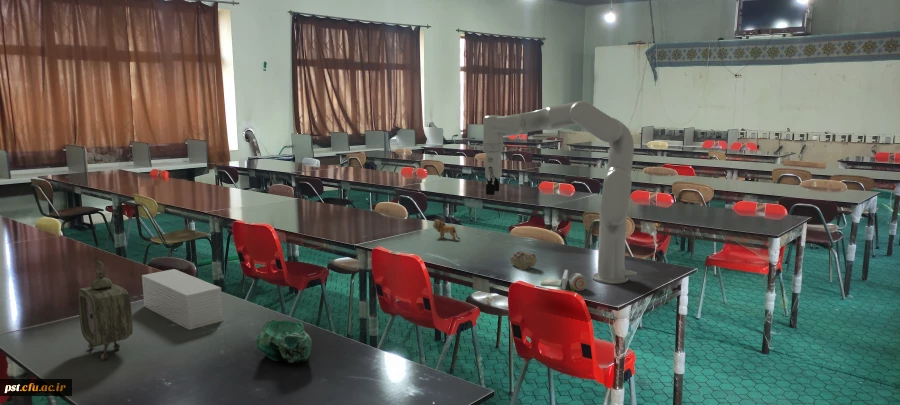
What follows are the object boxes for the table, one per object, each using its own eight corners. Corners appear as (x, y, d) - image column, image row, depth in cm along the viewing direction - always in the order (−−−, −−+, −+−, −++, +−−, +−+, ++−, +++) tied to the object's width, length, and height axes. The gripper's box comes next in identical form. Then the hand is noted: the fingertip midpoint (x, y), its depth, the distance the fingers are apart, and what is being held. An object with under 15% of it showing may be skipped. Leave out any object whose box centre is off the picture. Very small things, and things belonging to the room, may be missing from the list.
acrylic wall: (567, 280, 240) (568, 270, 239) (565, 289, 228) (565, 278, 228) (564, 280, 240) (564, 269, 240) (561, 289, 229) (562, 278, 228)
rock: (536, 257, 250) (538, 248, 260) (507, 256, 253) (510, 246, 262) (536, 274, 253) (538, 264, 262) (507, 272, 255) (510, 262, 264)
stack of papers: (144, 307, 211) (141, 275, 209) (176, 299, 219) (174, 268, 217) (189, 330, 190) (186, 295, 188) (223, 321, 197) (221, 287, 196)
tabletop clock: (82, 348, 175) (73, 259, 171) (118, 339, 182) (110, 253, 178) (99, 363, 165) (90, 269, 161) (136, 354, 172) (128, 262, 168)
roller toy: (567, 288, 230) (567, 272, 229) (584, 287, 231) (584, 271, 230) (571, 291, 226) (572, 275, 225) (588, 290, 227) (589, 275, 226)
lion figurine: (431, 238, 313) (430, 220, 311) (436, 236, 317) (436, 218, 316) (458, 241, 306) (458, 222, 305) (463, 239, 311) (463, 220, 309)
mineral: (333, 359, 168) (332, 322, 166) (281, 379, 156) (279, 339, 155) (291, 342, 180) (290, 307, 178) (240, 358, 168) (238, 322, 167)
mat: (561, 281, 239) (561, 279, 239) (560, 286, 232) (560, 284, 232) (542, 279, 241) (542, 278, 241) (540, 285, 234) (540, 283, 234)
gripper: (498, 150, 235) (498, 196, 238) (506, 146, 252) (506, 190, 254) (478, 149, 237) (478, 195, 240) (487, 146, 254) (487, 189, 256)
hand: (492, 192), depth 247 cm, fingers open, 9 cm apart
